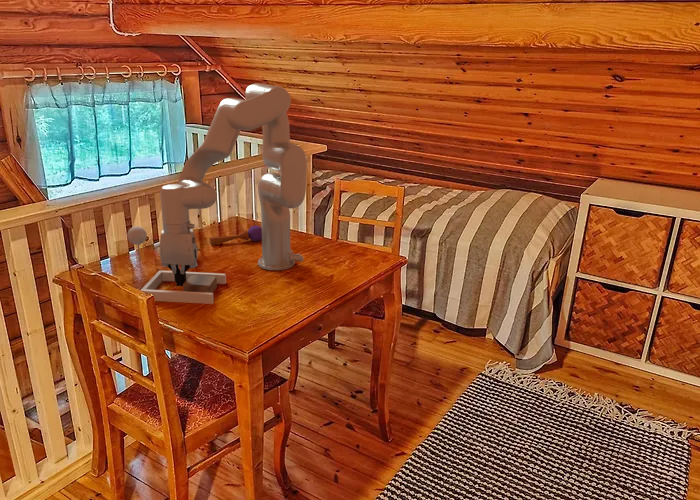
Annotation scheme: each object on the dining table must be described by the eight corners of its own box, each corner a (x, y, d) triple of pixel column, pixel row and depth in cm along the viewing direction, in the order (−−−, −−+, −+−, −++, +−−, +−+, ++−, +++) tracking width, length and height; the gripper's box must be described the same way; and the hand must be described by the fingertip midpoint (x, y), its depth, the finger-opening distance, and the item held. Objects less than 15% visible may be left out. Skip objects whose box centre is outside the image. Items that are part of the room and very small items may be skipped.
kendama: (208, 232, 212) (260, 223, 219) (210, 248, 213) (262, 238, 220) (210, 234, 206) (264, 225, 213) (213, 250, 208) (266, 240, 215)
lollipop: (127, 269, 186) (122, 226, 181) (144, 265, 190) (139, 222, 185) (137, 275, 182) (132, 231, 177) (153, 270, 187) (149, 227, 181)
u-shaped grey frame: (226, 282, 179) (225, 273, 178) (212, 303, 165) (212, 294, 164) (160, 279, 180) (159, 270, 179) (140, 300, 166) (139, 290, 165)
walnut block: (217, 288, 176) (216, 276, 175) (210, 297, 170) (209, 285, 168) (191, 286, 177) (190, 274, 175) (183, 296, 170) (183, 284, 169)
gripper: (205, 224, 169) (208, 280, 175) (156, 221, 169) (161, 278, 176) (197, 232, 162) (201, 291, 168) (146, 229, 162) (151, 288, 169)
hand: (180, 284), depth 172 cm, fingers closed
